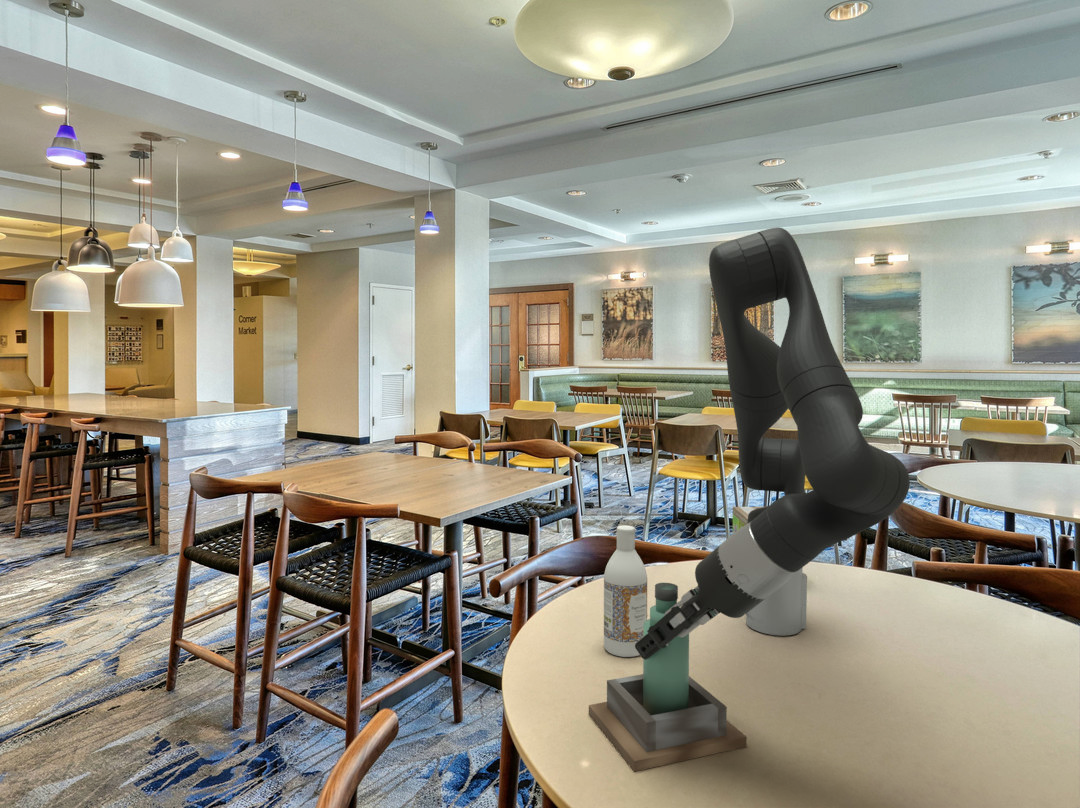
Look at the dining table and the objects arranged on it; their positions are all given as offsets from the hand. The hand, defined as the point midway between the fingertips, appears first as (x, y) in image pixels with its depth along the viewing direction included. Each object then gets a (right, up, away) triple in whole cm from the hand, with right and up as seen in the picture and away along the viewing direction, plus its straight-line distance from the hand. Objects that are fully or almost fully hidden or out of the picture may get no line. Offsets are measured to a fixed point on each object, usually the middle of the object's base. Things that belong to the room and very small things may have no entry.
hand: (652, 643), depth 82 cm
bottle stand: (+1, -11, -1) cm, 11 cm away
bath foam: (0, -10, +23) cm, 25 cm away
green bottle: (+1, -8, -1) cm, 8 cm away
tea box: (+34, -8, +58) cm, 68 cm away
